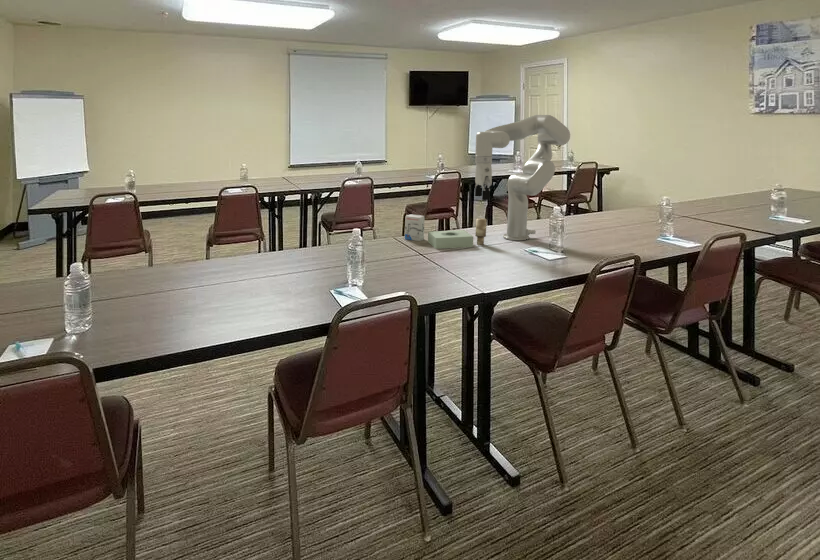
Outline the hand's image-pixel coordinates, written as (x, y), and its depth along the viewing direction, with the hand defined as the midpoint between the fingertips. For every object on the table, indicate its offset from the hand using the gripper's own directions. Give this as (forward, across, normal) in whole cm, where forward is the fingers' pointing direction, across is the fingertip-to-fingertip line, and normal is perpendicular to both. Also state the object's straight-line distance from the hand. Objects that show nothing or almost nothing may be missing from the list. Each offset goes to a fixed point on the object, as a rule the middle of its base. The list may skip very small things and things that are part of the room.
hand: (482, 197), depth 252 cm
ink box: (+22, +17, +28) cm, 40 cm away
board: (+22, +3, +14) cm, 26 cm away
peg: (+22, 0, 0) cm, 22 cm away
